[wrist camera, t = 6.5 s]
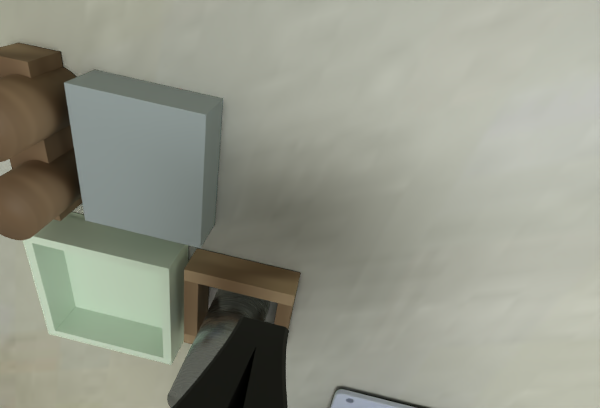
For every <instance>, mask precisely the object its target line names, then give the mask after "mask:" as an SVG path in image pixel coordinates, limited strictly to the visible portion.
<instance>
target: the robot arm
mask: <svg viewBox="0 0 600 408" xmlns="http://www.w3.org/2000/svg"><path fill="white" fill-rule="evenodd" d="M288 333H289V330H288V329H287V328H286V327H284V326H280V325H276V324H271V323H267V322H263V321H259V320H255V319H251V318H247V317H242V318H240V319H239V321H238V323H237V325H236V326H235V328H234V330H233V331H232V333H231V334H230V336H229V337H228V339H227V340H226V342H225V343H224V345H223V346H222V347H221V349H220V350H219V352H218V353H217V354H216V356H215V357H214V358H213V360H212V361H211V362H210V363H209V365H208V366H207V367H206V368H205V370H204V371H203V372H202V373H201V375H200V376H199V377H198V379H197V380H196V381H195V382H194V383H193V384H192V386H191V387H190V388H189V389H188V390H187V391H186V392H185V394H184V395H183V396H182V397H181V398H180V399H179V400H178V401H177V403H176V404H175V405H174V406H173V407H172V408H287V394H286V346H287V338H288ZM330 408H416V407H412V406H408V405H404V404H400V403H396V402H392V401H388V400H384V399H380V398H376V397H372V396H368V395H364V394H360V393H356V392H352V391H348V390H344V389H339V390H337V391H336V392H335V395H334V398H333V400H332V403H331V406H330Z"/></svg>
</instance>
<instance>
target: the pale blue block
mask: <svg viewBox="0 0 600 408" xmlns="http://www.w3.org/2000/svg"><path fill="white" fill-rule="evenodd" d="M64 87H65V93H66V100H67V106H68V112H69V119H70V125H71V132H72V138H73V145H74V151H75V158H76V164H77V171H78V177H79V184H80V190H81V197H82V203H83V210H84V216H85V220H86V221H90V222H94V223H98V224H102V225H106V226H110V227H115V228H119V229H123V230H127V231H131V232H135V233H139V234H143V235H148V236H152V237H156V238H160V239H164V240H168V241H172V242H176V243H181V244H185V245H189V246H193V247H197V248H201V247H202V245H203V243H204V241H205V240H206V238H207V236H208V235H209V233H210V231H211V230H212V228H213V226H214V225H215V215H216V200H217V184H218V169H219V154H220V139H221V124H222V109H223V98H218V97H214V96H209V95H205V94H200V93H196V92H192V91H187V90H183V89H178V88H174V87H169V86H165V85H161V84H156V83H152V82H147V81H143V80H139V79H134V78H130V77H125V76H121V75H116V74H112V73H108V72H103V71H99V70H93V71H90V72H88V73H86V74H83V75H81V76H78V77H76V78H74V79H71V80H69V81H66V82H64Z"/></svg>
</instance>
